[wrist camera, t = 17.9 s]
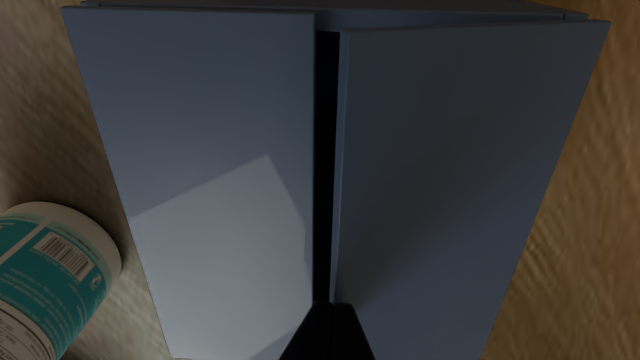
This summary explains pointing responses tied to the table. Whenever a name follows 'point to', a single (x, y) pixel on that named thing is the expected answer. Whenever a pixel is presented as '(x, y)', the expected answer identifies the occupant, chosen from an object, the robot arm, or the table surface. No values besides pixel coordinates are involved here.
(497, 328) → the table surface
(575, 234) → the table surface
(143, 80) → the carton
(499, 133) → the flap
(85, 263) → the pill bottle
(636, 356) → the table surface
